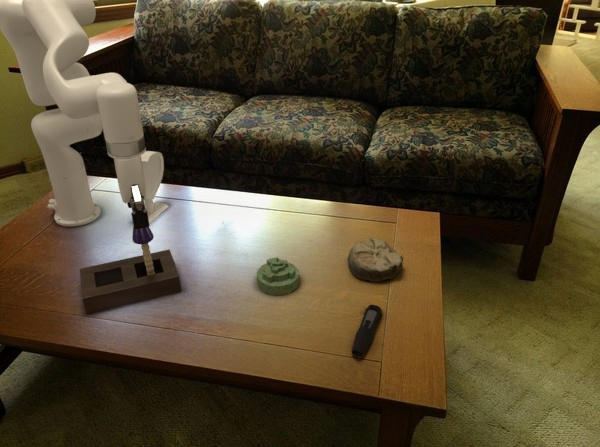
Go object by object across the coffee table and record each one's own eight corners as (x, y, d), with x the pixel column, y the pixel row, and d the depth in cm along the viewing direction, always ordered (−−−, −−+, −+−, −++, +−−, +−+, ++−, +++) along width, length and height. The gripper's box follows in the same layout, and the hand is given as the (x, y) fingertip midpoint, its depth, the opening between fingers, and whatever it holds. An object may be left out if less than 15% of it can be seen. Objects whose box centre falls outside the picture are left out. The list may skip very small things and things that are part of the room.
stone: (385, 249, 137) (387, 231, 134) (409, 277, 126) (412, 259, 123) (339, 258, 133) (339, 240, 131) (360, 288, 122) (361, 270, 120)
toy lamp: (156, 290, 122) (145, 230, 113) (138, 288, 122) (125, 227, 114) (165, 278, 126) (155, 219, 117) (147, 276, 126) (135, 217, 118)
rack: (83, 283, 124) (79, 268, 121) (171, 264, 131) (169, 249, 128) (86, 314, 114) (82, 298, 112) (181, 291, 121) (179, 276, 119)
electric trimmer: (346, 358, 103) (346, 346, 102) (366, 309, 116) (367, 299, 114) (364, 363, 102) (365, 352, 101) (383, 314, 115) (384, 303, 113)
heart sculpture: (143, 228, 145) (133, 170, 136) (128, 225, 147) (116, 167, 137) (171, 203, 158) (164, 148, 149) (157, 200, 159) (148, 145, 150)
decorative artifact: (290, 298, 119) (304, 274, 127) (290, 274, 115) (304, 250, 123) (250, 290, 122) (266, 266, 130) (249, 265, 118) (265, 242, 126)
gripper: (102, 132, 111) (116, 202, 120) (111, 165, 98) (125, 240, 107) (138, 128, 114) (149, 196, 123) (151, 158, 100) (162, 233, 109)
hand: (138, 216), depth 115 cm, fingers open, 9 cm apart
